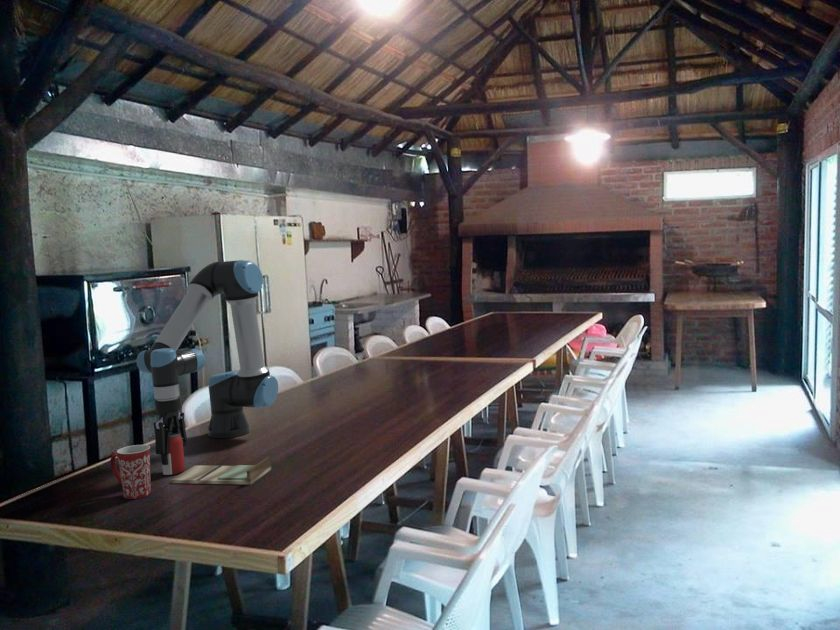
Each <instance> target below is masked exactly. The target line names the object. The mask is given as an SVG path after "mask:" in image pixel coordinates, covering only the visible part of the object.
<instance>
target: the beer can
mask: <svg viewBox="0 0 840 630" xmlns="http://www.w3.org/2000/svg"><path fill="white" fill-rule="evenodd" d="M183 450H184V446H183V441H182V438H181V436H180V433H172V432H171V433H170V443H169V453H170V454H171V464H172V475H180V474H181V473H183V472H185V471H186V466H185V465H186V463H185V451H183Z"/></svg>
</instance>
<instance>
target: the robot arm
mask: <svg viewBox="0 0 840 630" xmlns="http://www.w3.org/2000/svg"><path fill="white" fill-rule="evenodd" d="M263 285H264V277H263V273H262V270H261V268H260V267H259V265H257V264H256V263H255V262H253V261H251V260H243V259H240V260H239V259H238V260H227V261H215V262H214V261H213V262H212V263H209V264H207V265H206V266H204V267H202V269H200V270H199V271H198V272H197V273H196V274H195V275H194V276H193V278H192V279H191V281H190V282H189V283H188V285H187V287H186V293H185V294H184V296H183V298H182V299H181V301H180V302H179V304H178V305H177V307H176V309H174V312H172V315H171V316H170V318H169V319H168V321H167V322H166V324H165V325H164V327H163V329H162V330H161V331H160V333H159V334H158V336H157V338H156V340H155V341H154V342H153V344H152V346H151V347H150V349H145V350H142V351H140V352H139V353H138V354H137V356H136V366H137V369H138V370H139V371H141V372H143V373H147V374H151V378H152V386H153V396H154V399H155V401H154V409H155V413H157V414H159V415H158V417H159V418H158V421H156V422H153V424H152V425H153V428H154V439H155V440H154V441H155V454H156V455H160V457H161V466H162V475H165V476H171V475H172V464H171V454H170V453H169V443H170V433H180V436H181V438H182V441H183V447H186V446H187V442H188V438H187V437H188V436H187V431H186V424H185V412H183V411H182V412H179V411H180V410H181V409H182V406H181V405H182V404H181V398H180V395H181V393H180V383H179V377H181V376H184V375H188V374H193V373H196V372H198V371H201V370H202V369H203V368H204V367H205V365H206V364H205V363H206V357H205V354H204V352H203V351H201V350H200V349H198V348H189V349H182V350H181V349H179V348H180V346H181V345H182V343H183V341H184V339H185V338H186V336H187V335H188V333H189V332H190V330H191V328H192V327H193V325H194V323H195V322H196V320H197V319H198V317H199V315H200V314H201V312H202V311H203V309H204V308H205V306H206V305H207V304H209V303H211V302H212V300H213V299H214V297H216V296H218V295H224V300H225V302H226V303H227V304H229V305H230V311H231V317H232V323H233V329H234V335H235V336H234V337H235V342H236V350H237V355H238V363H239V370H230V371H229V370H228V371H226V372H221V373H215V374H213V375H211V376H209V378H208V393H209V403H210V412H211V414H210V415H211V416H210V418H209V423H208V424H209V425H208V428H207V435H208V437H210V438H212V439H227V438H228V439H231V438H235V437H241V436H244V435H247V434H248V433H249V432H250V429H251V428H250V424H249V421H248V419H247V416H246V415H245V412H244V408H256V409H261V408H269V407H270V406H271V405H273V403H274V402H275V401H276V399H277V397H278V394H279V383H278V379H277V378H276V377H275V376H273V375H271V374H270V368H269V367H268V366H266V365H265V362H264V361H265V360H264V355H263V349H262V342H261V336H260V335H261V334H260V328H259V322H258V315H257V307H256V301H257V299H258V297H259V292H260V291H261V290H262V288H263ZM178 349H179V350H178ZM183 451H184V449H183ZM184 452H185V451H184Z"/></svg>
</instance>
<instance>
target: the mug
mask: <svg viewBox="0 0 840 630" xmlns="http://www.w3.org/2000/svg"><path fill="white" fill-rule="evenodd" d="M150 450H151V446H150V445H147V444H136V445H135V444H133V445H127V446H125V447H122V448H119V449H117V450H116V453H114V454H112V456H111V457H110V459H109V461H110V467H111V471H112V473H113V475H114V476H115V478H116V479H117V481H118V482H119V484H121V487H122V495H123V498H125V499H127V500H137V499H142V498H145V497H147V496H149V495H150V494H151V493H152V491H151V490H152V489H151V487H152V486H151V460H150V458H151V457H150V456H151V455H150V454H151V453H150ZM116 458H117V460H118V465H119V469H118V467H117V464H116Z"/></svg>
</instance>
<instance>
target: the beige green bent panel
mask: <svg viewBox="0 0 840 630" xmlns="http://www.w3.org/2000/svg"><path fill="white" fill-rule="evenodd" d="M271 470H272V464H271V456H266V457H265V458H264V459H262V460H260V461H259V462H258V463H256V464H255V465H253V464H252V465H251V464H248V465H247V464H245V465H243V464H237V465H222V464H221V465H200V464H199V465H196V464H195V465H193V466H191V467H190V468H188V469H187V470H186V469H185V470H184V471H183V472H181V473H179V474H177V475H176V476H175V477H173V478H171V479H170V484H193V485H194V484H196V485H197V484H198V485H200V484H202V485H203V484H205V485H245V486H246V485H247V486H248V485H250V486H251V485H252V484H254V483H255V482H256V481H258V480H259V479H261V478H262V477H264V476H265V475H266V474H267V473H268V472H270V471H271Z"/></svg>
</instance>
